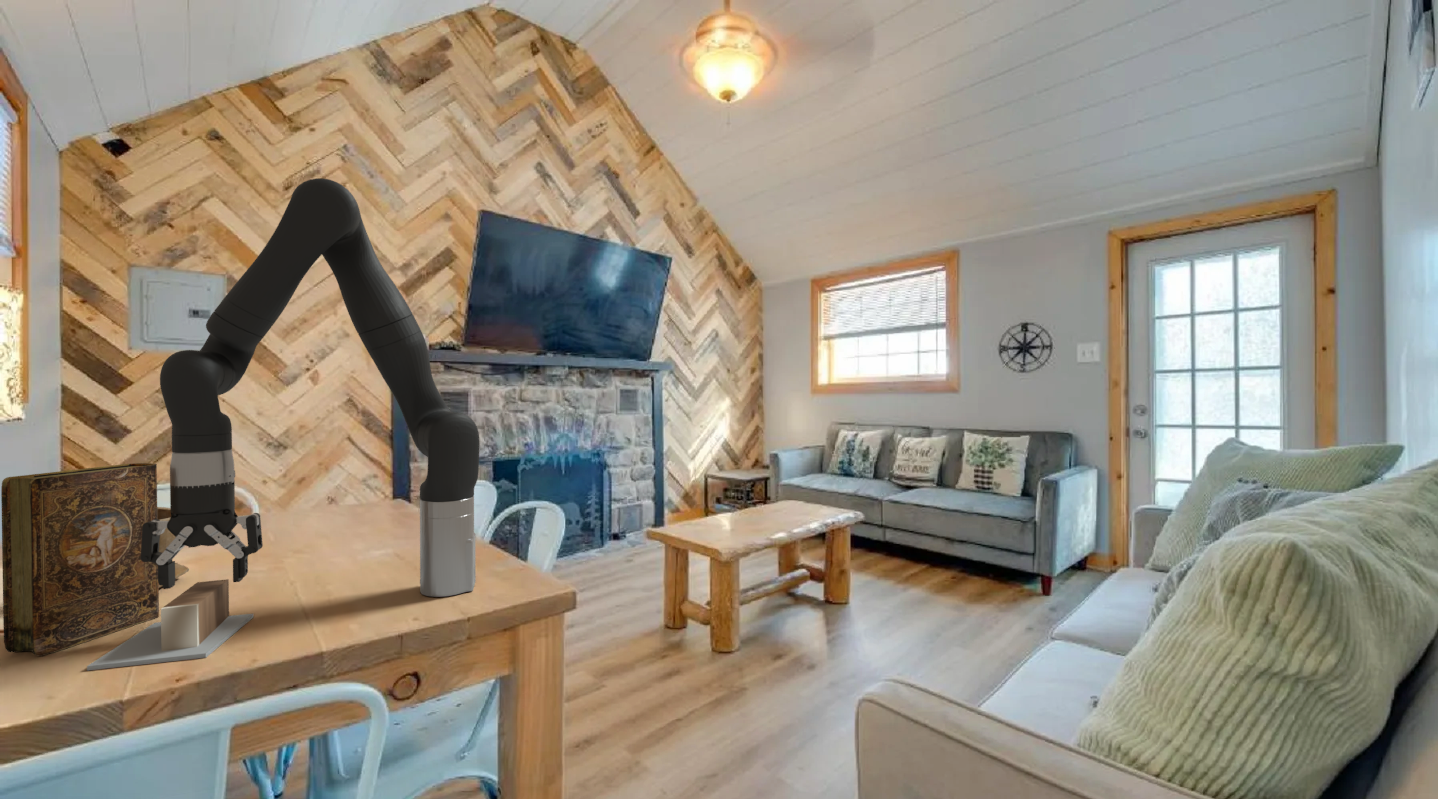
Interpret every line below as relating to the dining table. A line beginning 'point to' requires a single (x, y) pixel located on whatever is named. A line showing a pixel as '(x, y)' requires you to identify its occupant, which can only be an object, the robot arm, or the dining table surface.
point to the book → (76, 555)
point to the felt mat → (149, 650)
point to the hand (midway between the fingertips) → (204, 583)
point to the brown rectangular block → (194, 614)
